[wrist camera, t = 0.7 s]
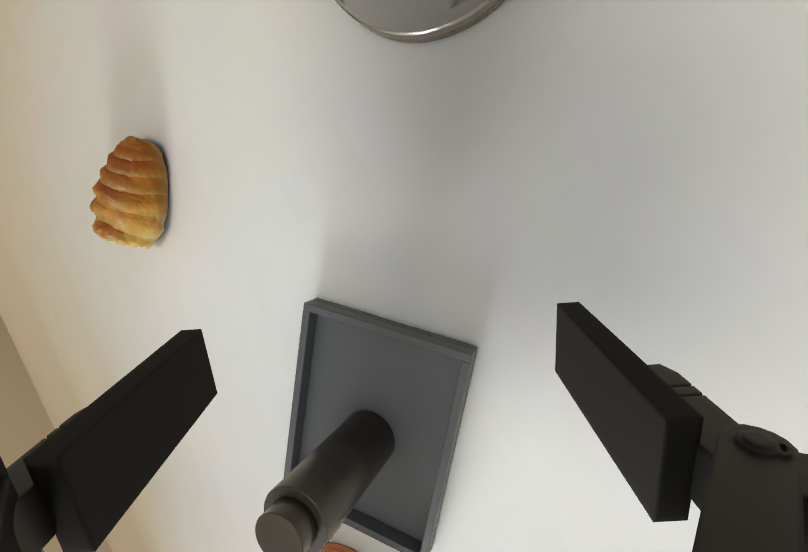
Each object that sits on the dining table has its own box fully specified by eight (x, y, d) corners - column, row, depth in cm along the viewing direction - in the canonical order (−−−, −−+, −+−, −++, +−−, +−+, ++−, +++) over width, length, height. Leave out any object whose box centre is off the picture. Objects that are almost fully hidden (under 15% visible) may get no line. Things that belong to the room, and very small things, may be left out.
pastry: (128, 130, 38) (83, 123, 34) (182, 152, 36) (140, 146, 32) (117, 227, 40) (74, 230, 37) (167, 252, 38) (127, 257, 35)
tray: (316, 297, 33) (303, 302, 31) (477, 347, 29) (472, 355, 27) (293, 479, 37) (281, 492, 35) (432, 547, 33) (425, 564, 31)
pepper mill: (348, 401, 33) (249, 489, 23) (399, 421, 31) (317, 525, 21) (341, 449, 34) (243, 554, 24) (390, 471, 32) (307, 591, 22)
